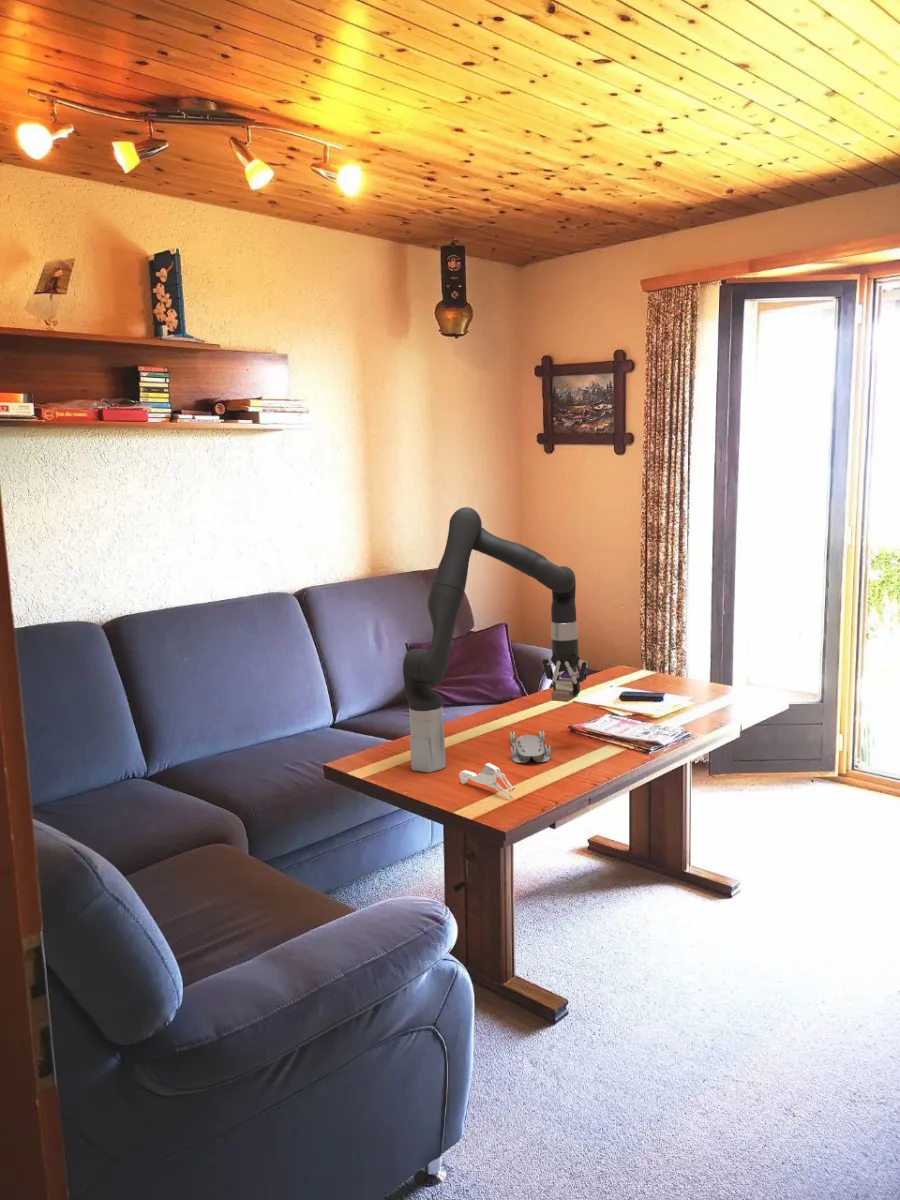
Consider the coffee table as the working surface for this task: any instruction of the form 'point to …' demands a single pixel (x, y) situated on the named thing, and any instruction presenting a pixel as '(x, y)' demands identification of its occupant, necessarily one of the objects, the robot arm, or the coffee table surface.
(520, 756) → the car model
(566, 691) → the chock
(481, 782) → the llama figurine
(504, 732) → the coffee table surface
